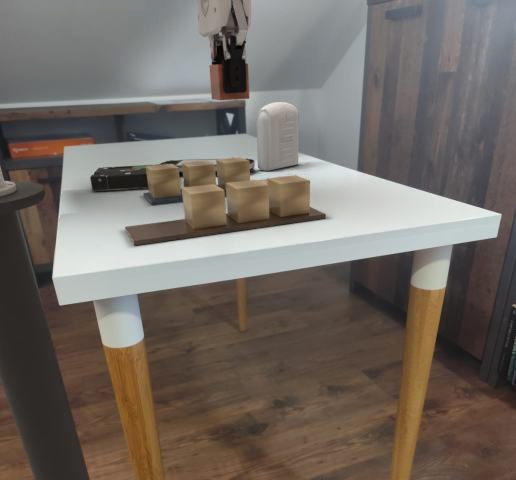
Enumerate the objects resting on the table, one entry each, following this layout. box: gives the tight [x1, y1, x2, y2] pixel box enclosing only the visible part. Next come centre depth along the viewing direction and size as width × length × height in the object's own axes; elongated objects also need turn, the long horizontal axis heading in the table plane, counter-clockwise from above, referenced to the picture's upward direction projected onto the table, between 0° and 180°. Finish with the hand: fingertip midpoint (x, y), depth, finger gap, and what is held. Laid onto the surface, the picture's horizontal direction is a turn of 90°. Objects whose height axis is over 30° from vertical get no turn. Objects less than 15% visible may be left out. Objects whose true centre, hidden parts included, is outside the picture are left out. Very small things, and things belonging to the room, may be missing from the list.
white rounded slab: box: [256, 101, 300, 172], centre depth 101 cm, size 10×4×12 cm, turn 139°
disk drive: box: [89, 163, 175, 192], centre depth 92 cm, size 10×3×15 cm
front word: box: [124, 174, 327, 247], centre depth 65 cm, size 26×7×5 cm, turn 112°
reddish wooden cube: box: [209, 62, 250, 101], centre depth 71 cm, size 4×4×4 cm
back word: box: [142, 156, 267, 206], centre depth 83 cm, size 24×7×5 cm, turn 112°
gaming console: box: [160, 158, 256, 177], centre depth 100 cm, size 19×9×2 cm, turn 84°
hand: (229, 90), depth 71 cm, fingers closed on reddish wooden cube, 4 cm apart
